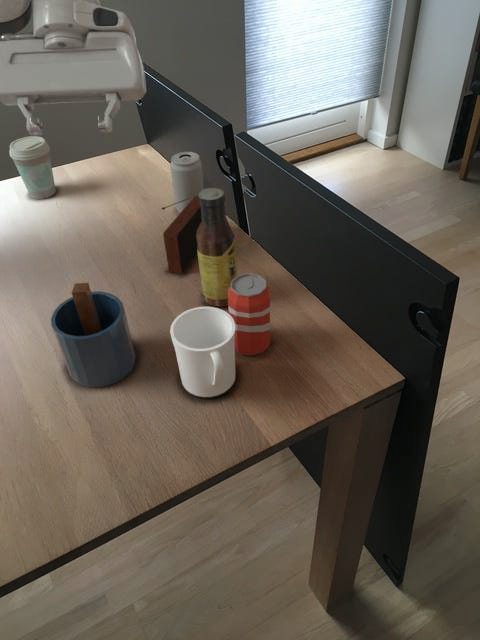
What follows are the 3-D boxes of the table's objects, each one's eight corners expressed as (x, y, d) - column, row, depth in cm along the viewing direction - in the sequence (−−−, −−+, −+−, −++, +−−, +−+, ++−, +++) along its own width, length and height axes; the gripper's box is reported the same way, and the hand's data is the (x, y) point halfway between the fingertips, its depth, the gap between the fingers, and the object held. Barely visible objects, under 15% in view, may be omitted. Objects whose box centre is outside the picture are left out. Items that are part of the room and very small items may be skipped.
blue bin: (61, 388, 80) (42, 340, 73) (76, 340, 87) (60, 292, 80) (130, 386, 79) (117, 337, 73) (139, 338, 87) (128, 290, 80)
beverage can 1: (203, 200, 119) (199, 148, 111) (207, 215, 114) (202, 162, 106) (175, 203, 118) (168, 152, 110) (177, 219, 114) (170, 166, 106)
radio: (203, 226, 111) (196, 157, 101) (216, 228, 110) (210, 159, 100) (162, 278, 99) (150, 205, 89) (177, 281, 98) (166, 208, 88)
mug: (171, 367, 82) (162, 316, 75) (225, 350, 84) (222, 300, 77) (193, 420, 74) (186, 369, 67) (253, 400, 76) (251, 349, 70)
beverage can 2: (269, 329, 87) (269, 270, 79) (270, 358, 82) (270, 297, 74) (231, 330, 87) (227, 271, 79) (230, 358, 83) (226, 298, 75)
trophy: (82, 371, 81) (57, 300, 71) (88, 348, 85) (65, 277, 75) (115, 369, 81) (95, 298, 71) (120, 346, 85) (101, 275, 75)
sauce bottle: (240, 306, 92) (235, 203, 78) (204, 310, 91) (192, 207, 78) (236, 283, 97) (230, 182, 83) (201, 287, 96) (190, 186, 83)
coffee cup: (26, 205, 120) (9, 154, 112) (21, 189, 126) (4, 140, 118) (64, 196, 123) (50, 146, 115) (58, 181, 129) (44, 132, 121)
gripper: (-21, 20, 69) (-20, 125, 68) (137, 13, 69) (140, 118, 68) (2, 47, 76) (3, 144, 75) (147, 41, 75) (150, 138, 74)
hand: (70, 132), depth 71 cm, fingers open, 8 cm apart
